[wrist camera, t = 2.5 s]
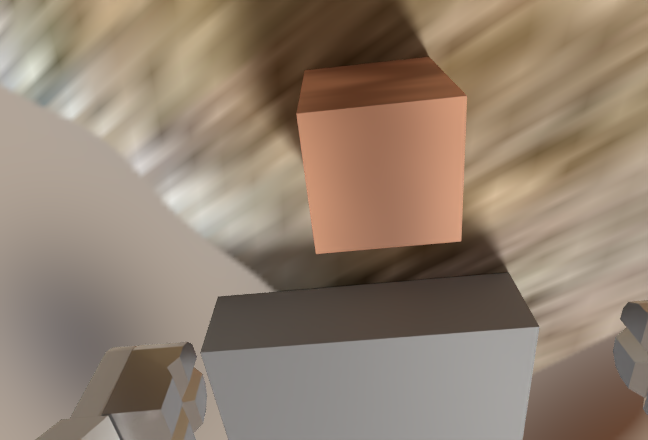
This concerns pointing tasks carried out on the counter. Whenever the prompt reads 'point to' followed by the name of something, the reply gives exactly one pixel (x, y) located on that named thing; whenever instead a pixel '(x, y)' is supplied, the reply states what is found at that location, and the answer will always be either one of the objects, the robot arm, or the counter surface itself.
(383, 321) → the base slab
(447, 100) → the terracotta block
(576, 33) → the counter surface
